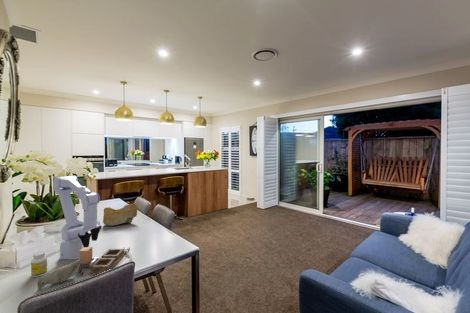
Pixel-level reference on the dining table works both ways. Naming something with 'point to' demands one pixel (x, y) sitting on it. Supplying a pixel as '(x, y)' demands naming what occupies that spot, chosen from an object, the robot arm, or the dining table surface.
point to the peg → (85, 255)
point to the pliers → (127, 253)
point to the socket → (87, 266)
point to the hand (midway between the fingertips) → (90, 243)
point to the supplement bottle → (38, 264)
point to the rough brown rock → (119, 215)
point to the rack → (107, 261)
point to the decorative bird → (60, 274)
